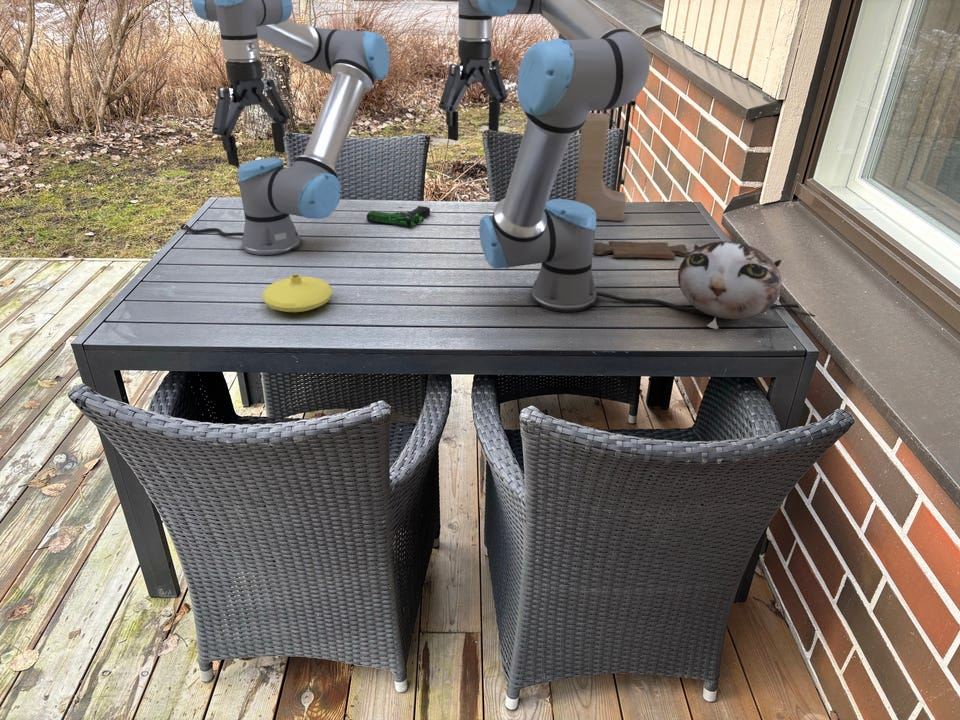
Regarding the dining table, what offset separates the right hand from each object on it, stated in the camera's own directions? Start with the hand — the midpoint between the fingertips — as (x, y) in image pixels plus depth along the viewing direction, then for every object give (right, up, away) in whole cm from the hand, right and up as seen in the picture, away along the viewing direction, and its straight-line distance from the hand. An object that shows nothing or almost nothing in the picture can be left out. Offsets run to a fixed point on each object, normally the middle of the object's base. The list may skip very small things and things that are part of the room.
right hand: (473, 135), depth 172 cm
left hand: (-50, -8, -7) cm, 51 cm away
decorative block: (+38, -10, +48) cm, 62 cm away
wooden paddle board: (+46, -25, +24) cm, 57 cm away
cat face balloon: (+57, -44, -8) cm, 73 cm away
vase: (-40, -41, -7) cm, 58 cm away
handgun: (-22, -12, +44) cm, 51 cm away
